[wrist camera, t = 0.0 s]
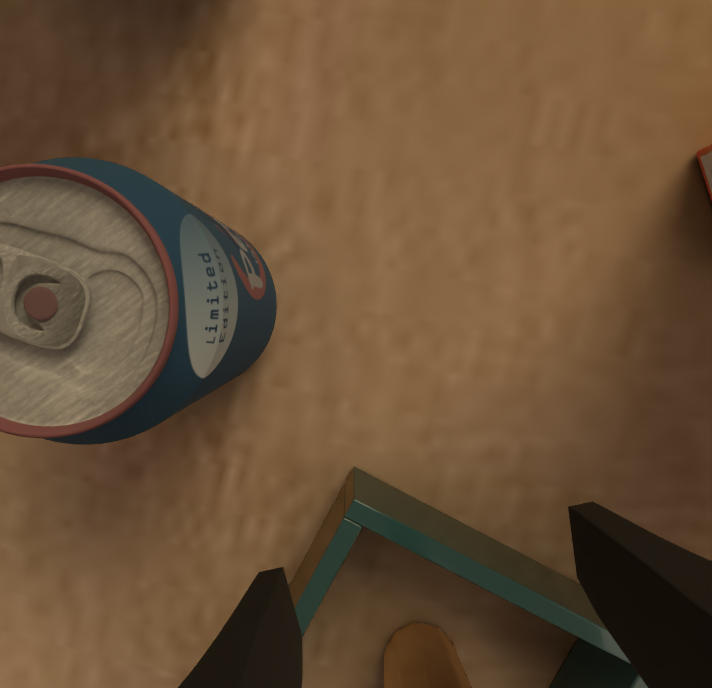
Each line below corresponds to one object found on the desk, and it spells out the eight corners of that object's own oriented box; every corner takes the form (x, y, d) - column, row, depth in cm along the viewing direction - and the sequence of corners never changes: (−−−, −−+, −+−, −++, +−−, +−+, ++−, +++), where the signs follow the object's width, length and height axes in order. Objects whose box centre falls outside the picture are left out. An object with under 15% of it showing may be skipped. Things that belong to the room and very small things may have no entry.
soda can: (303, 256, 23) (249, 202, 11) (250, 405, 23) (141, 512, 11) (150, 199, 23) (-78, 80, 11) (99, 352, 23) (-174, 401, 11)
